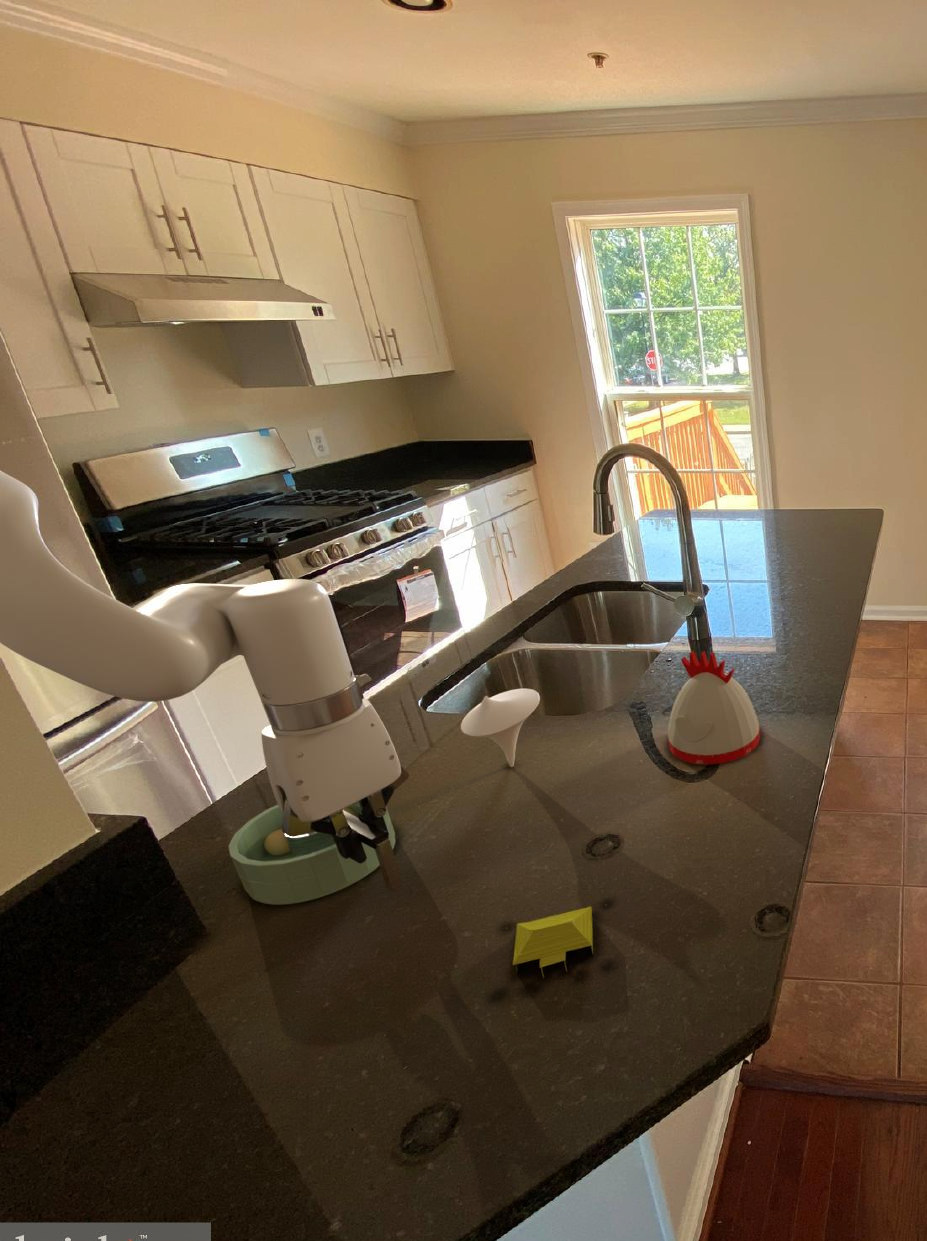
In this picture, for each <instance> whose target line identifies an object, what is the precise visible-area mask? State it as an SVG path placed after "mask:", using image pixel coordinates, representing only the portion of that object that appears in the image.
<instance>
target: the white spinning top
mask: <svg viewBox="0 0 927 1241" xmlns="http://www.w3.org/2000/svg"><path fill="white" fill-rule="evenodd" d="M540 700H541V697H540V694H539V692H537V691H536V690H535V689H531V688H516V689H515V688H514V689H510V690H507V691H503V692H499V693H498V694H495V695H493V696H491V697H489V696H488V695H485V696H484V697H483V699H482V701H481V702H479V703H478V704H477V705H476V706H475V707H473V708H472V709H471V710H470V711H468V712H467V714H466V715H465V716H464V718H463V719H462V721H461V723H460V731H461V732H462V733H463V734H465V735H466V736H469V737H482V738H486V739H489V740H491V741H494V743H496V744H497V745H498V746H499V747H500V748H501V750H502V751H503V753H504V756H505V759H506V761H507V764H508V765H509V767H510V768H514V766H515V759H516V758H515V757H516V756H515V755H516V749H517V742H518V737H519V734H520V730H521V728H522V726H523V724H524V723H525V721H526V720H527V719H528V717H529V716H530V715H532V714H533V712H534V711H535V710H536V709H537V708H538V706H539V704H540Z"/></svg>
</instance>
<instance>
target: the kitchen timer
mask: <svg viewBox="0 0 927 1241" xmlns="http://www.w3.org/2000/svg"><path fill="white" fill-rule="evenodd" d="M681 663H682V665H683V667H684V669H685V671H686V673H687V674H688V676H689V679H688V680H687V681H686V682H685V683H684V684H683V686H682V687H681V688H680V690H679V691H678V692H677V693H676V694H675V696H676V698H675V700H674V703H673V705H672V708H671V713H670V717H669V721H668V726H667V727H668V728H667V736H668V745H669V751H670V752H671V754H673V756H674V757H676V758H677V759H679V760H681V761H683V762H686V763H690V764H694V765H695V764H696V765H706V766H707V765H719V764H725V763H729V762H733V761H736V760H739V759H740V758H743V757H745V756H746V755H748V754H749V753H751V752H753V751H754V749H756V747H757V746H758V745H759V742H760V739H761V738H760V737H761V733H760V723H759V720H758V717H757V714H756V711H755V708H754V705H753V703H752V701H751V699H750V697H749V695H748V693H747V692H746V690H745V688H744V687H743V686H742V685H741V684H740V683H739V682H738V681H737V680H736V679H734V678H733V675H734V672H735V668H732V669H731V670H730V671H729V673H725V664H726V661H725V659H723V660H722V661H721V662H719V664H718V662H717V658H716V654H715V652H714V651H713V652H711V653H710V655H709V660H708V658H707V654H706V651H705V650H703V651H702V652H701V654H700V658H699V660H698V658H697V654H696V652H695V651H694V650H692V651H691V652H689V659H688V658H687V657H686V656H683V657H682V658H681Z"/></svg>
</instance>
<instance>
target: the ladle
mask: <svg viewBox="0 0 927 1241" xmlns="http://www.w3.org/2000/svg"><path fill="white" fill-rule="evenodd" d="M343 812H344V815H345V817H346V820H347V822H348V825H350V827H351V828H352V829H354V830H356V831H357V832H358V834H359V838H360V841H361V842H362V843H364V844H366V845H368V846H370V847H371V848H373V849H375V852H376V855H377V858H378V861H379V864H380V866H379V867H380V870H381V873H382V876H383V881H384V883H385V886H386V888H387V889H388V890H390V891H391V892H392V891H395V890H397V889H398V888H399V887H402V886H403V885H404V883H403V879H402V875H401V872H400V868H399V866H398V863H397V859H396V856H395V852H394V848H393V849H392V846H391V843H390V839H389V836H388V833H387V832H386V831H384V830H382V829H380V828H378V827H376V826H374V825H372V824H370V823H368V822H366V821H364V820H362V819H360V818H358V817H356V816H354V815H352V814H350V813H348V812H346V811H344V810H343ZM284 836H285V838H286V841H287V844H288V846H289V849H290V852H291V853H292V854H293V855H295V856H304V855H308V854H311V853H314V852H317V851H319V850H322V849H325V848H327V847H330V846H332V845H334V844H335V841H334V838H333V836H332V835H331V834H325V833H319V832H311V833H309V834H304V835H299V836H295V837H290V836H288V835H286V834H285V833H284Z"/></svg>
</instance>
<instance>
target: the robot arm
mask: <svg viewBox="0 0 927 1241" xmlns="http://www.w3.org/2000/svg"><path fill="white" fill-rule="evenodd" d="M39 507H40V503H39V499H38V497H37V494H36V493H35V492H34V490H33V489H32V488H30V487H29V486H28V485H26V483H23V482H22V481H20V480H19V479H17V478H15V477H13V476H11V475H9V474H7V473H6V472H4V471H2V470H0V644H1V645H2V646H4V647H6V648H8V650H11V651H12V652H14V653H16V654H17V655H19V656H21V657H23V658H25V659H27V660H28V661H31V662H33V663H35V664H37V665H39V666H41V667H43V668H46V669H47V670H50V671H52V672H55V673H56V674H58V675H61V676H63V677H65V678H67V679H70V680H71V681H74V682H76V683H78V684H81V685H82V686H85V687H88V688H89V689H90V688H91V689H93V690H95V691H98V692H100V693H103V694H106V695H110V696H113V697H116V698H120V699H124V700H130V701H135V702H143V703H144V702H145V703H147V702H148V703H157V702H165V701H170V700H174V699H177V698H180V697H183V696H184V695H187V694H190V693H191V692H193V691H194V690H196V688H198V687H199V686H200V685H201V684H203V683H204V682H205V681H206V680H208V678H209V677H211V675H212V674H213V673H214V672H215V671H217V669H218V668H219V667H221V666H222V665H223V664H225V663H226V662H228V661H230V660H233V659H234V658H236V657H238V656H242V657H243V659H244V661H245V664H246V667H247V669H248V671H249V675H250V676H251V679H252V681H253V684H254V686H255V689H256V692H257V694H258V696H259V699H260V702H261V704H262V707H263V710H264V712H265V715H266V718H267V720H268V723H269V725H268V726H265V727H264V728H262V730H261V745H262V752H263V758H264V763H265V767H266V772H267V775H268V780H269V783H270V786H271V790H272V793H273V796H274V798H275V799H274V800H275V801H276V805H278V806H279V808H280V809H281V810H282V811H283V812H284V813H283V823H282V832H283V833H285V834H286V835H288V836H290V837H295V836H299V835H304V834H309V833H311V832H319V833H325V834H331V835H332V836H333V838H334V841H335V844H336V846H337V849H338V851H339V853H340V855H341V856H342V857H343V858H345V859H348V858H351V859H352V860H354V861H356V862H358V863H359V864H361V863H363V862H365V861H366V859H367V857H366V854H365V851H364V848H363V845H362V842H361V841H360V838H359V834H358V832H357V831H356V830H354V829H352V828H351V827H350V825H348V822H347V820H346V817H345V815H344V812H343V810H342V809H344V808H346V807H348V806H350V805H352V804H354V803H356V802H358V801H359V804H360V807H361V809H362V810H361V812H359V813H358V814H359V816H358V818H360V819H362V820H364V821H366V822H368V823H370V824H372V825H374V826H376V827H378V828H380V829H382V830H384V831H386V832H387V833H388V836H389V832H388V829H387V827H386V824H385V821H384V818H383V816H384V815H385V814H386V811H387V810H388V809H387V810H386V806H387V805H388V804H389V801H390V800H391V798H392V796H393V794H394V792H395V790H397V789H399V787H401V785H403V784H404V783H405V781H407V780H408V779H409V778H410V773H409V772H408V771H407V770H406V769H405V768H404V767H403V766H402V765H401V763H400V758H399V756H398V753H397V751H396V748H395V746H394V743H393V740H392V739H391V736H390V733H389V732H388V730H387V727H386V726H385V725H384V722H383V721H382V718H381V717H380V715H379V713H378V712H377V710H376V709H375V708H374V705H373V704H372V703H371V701H370V700H369V699H367V698H365V696H364V693H363V690H365V689H366V688H367V687H371V686H372V685H373V681H372V678H371V677H370V675H369V674H368V673H363V674H361V675H359V674H357V675H355V673H354V671H353V668H352V665H351V661H350V658H349V655H348V652H347V649H346V645H345V643H344V639H343V636H342V633H341V629H340V627H339V623H338V620H337V617H336V614H335V611H334V607H333V604H332V601H331V599H330V597H329V594H328V592H327V591H326V589H325V588H324V587H323V585H321V584H320V583H319V582H316V581H313V580H311V579H306V578H305V579H303V578H286V579H285V578H284V579H283V578H282V579H276V580H269V581H264V582H260V583H255V584H224V583H185V584H178V585H172V586H170V587H167V588H164V589H161V590H160V591H158V592H156V593H155V594H153V595H151V596H150V597H148V598H147V599H145V600H143V601H141V602H139V603H138V604H136V605H135V606H133V607H131V606H130V605H127V604H126V603H123V602H121V601H120V600H117V599H115V598H114V597H111V596H110V595H108V594H106V593H105V592H102V591H101V590H99V589H97V588H95V587H94V586H92V585H90V584H89V583H87V582H86V581H84V580H83V579H81V578H80V577H78V576H77V575H75V574H74V573H72V572H71V571H70V570H69V569H68V568H67V567H65V566H64V565H63V564H62V563H61V562H60V561H59V560H58V559H57V558H56V557H55V555H53V553H52V552H51V551H50V549H49V548H48V546H47V545H46V543H45V541H44V539H43V536H42V533H41V531H40V522H39V521H40V520H39Z"/></svg>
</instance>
